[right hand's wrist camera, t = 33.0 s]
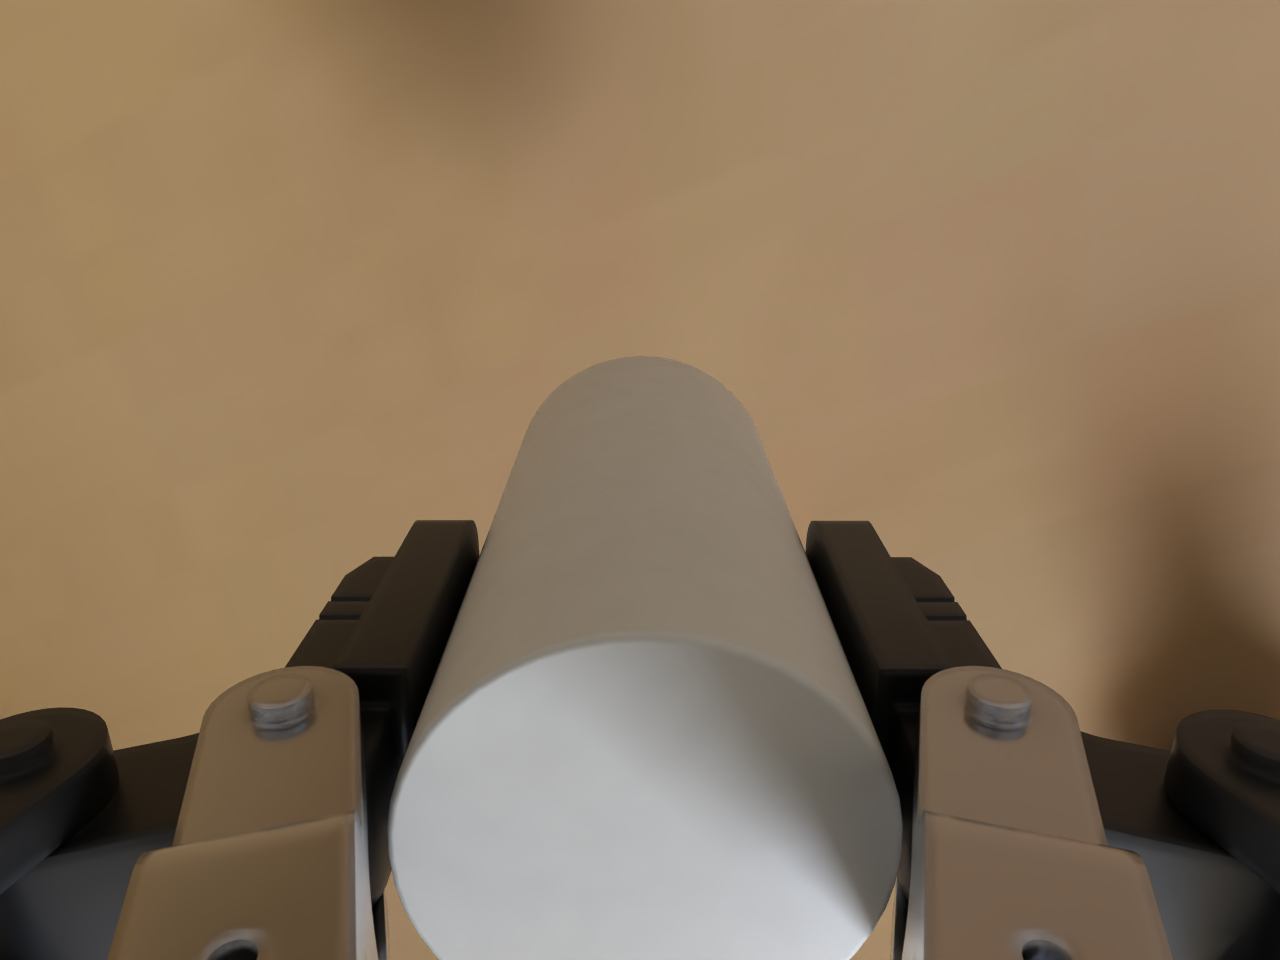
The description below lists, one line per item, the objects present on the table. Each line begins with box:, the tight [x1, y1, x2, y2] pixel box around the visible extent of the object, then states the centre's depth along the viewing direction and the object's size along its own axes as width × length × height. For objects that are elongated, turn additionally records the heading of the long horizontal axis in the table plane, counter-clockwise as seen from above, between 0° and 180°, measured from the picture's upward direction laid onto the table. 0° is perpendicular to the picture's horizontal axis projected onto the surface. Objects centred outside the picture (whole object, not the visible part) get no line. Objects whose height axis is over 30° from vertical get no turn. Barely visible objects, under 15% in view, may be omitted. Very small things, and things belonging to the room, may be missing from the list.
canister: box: [387, 356, 903, 960], centre depth 12 cm, size 4×4×9 cm
